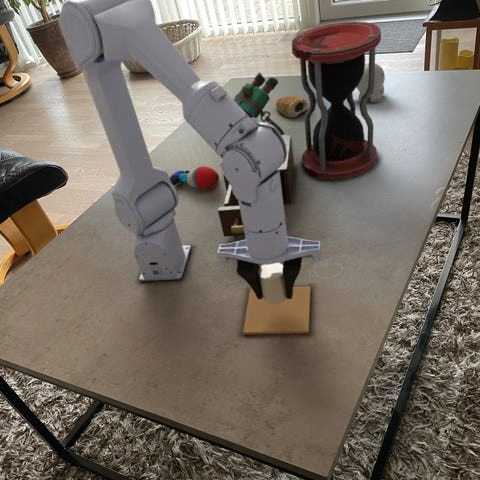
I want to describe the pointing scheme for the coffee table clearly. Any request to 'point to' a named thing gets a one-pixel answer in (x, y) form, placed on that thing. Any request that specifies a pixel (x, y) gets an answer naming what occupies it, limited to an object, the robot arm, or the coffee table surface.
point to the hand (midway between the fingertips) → (275, 294)
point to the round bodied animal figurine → (377, 85)
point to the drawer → (234, 213)
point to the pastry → (291, 106)
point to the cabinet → (283, 170)
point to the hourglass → (337, 97)
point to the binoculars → (257, 98)
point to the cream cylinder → (272, 283)
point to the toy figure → (196, 178)
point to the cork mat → (279, 314)
